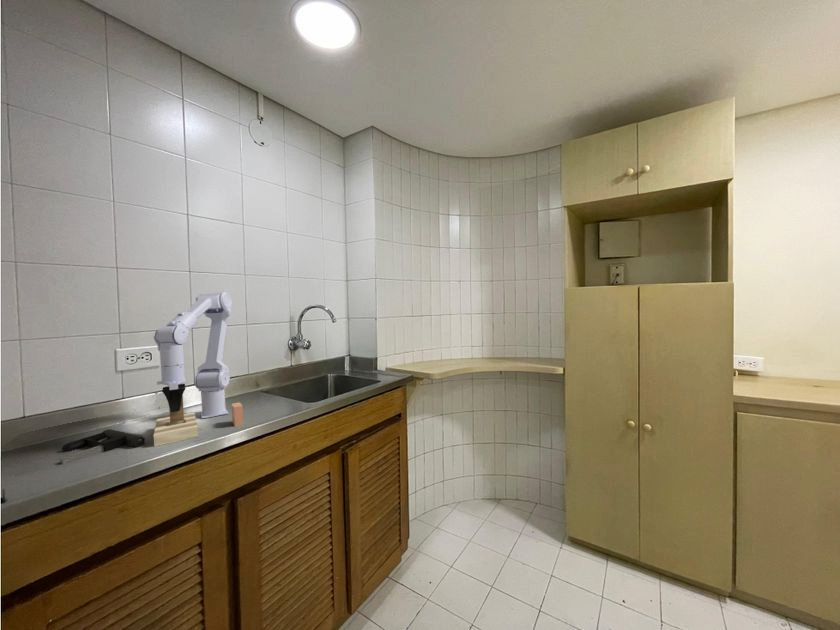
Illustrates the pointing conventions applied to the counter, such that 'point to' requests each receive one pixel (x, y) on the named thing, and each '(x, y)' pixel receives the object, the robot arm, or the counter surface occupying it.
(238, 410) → the salmon brown flat block
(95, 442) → the door handle
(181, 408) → the walnut peg
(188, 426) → the socket block
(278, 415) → the counter surface
